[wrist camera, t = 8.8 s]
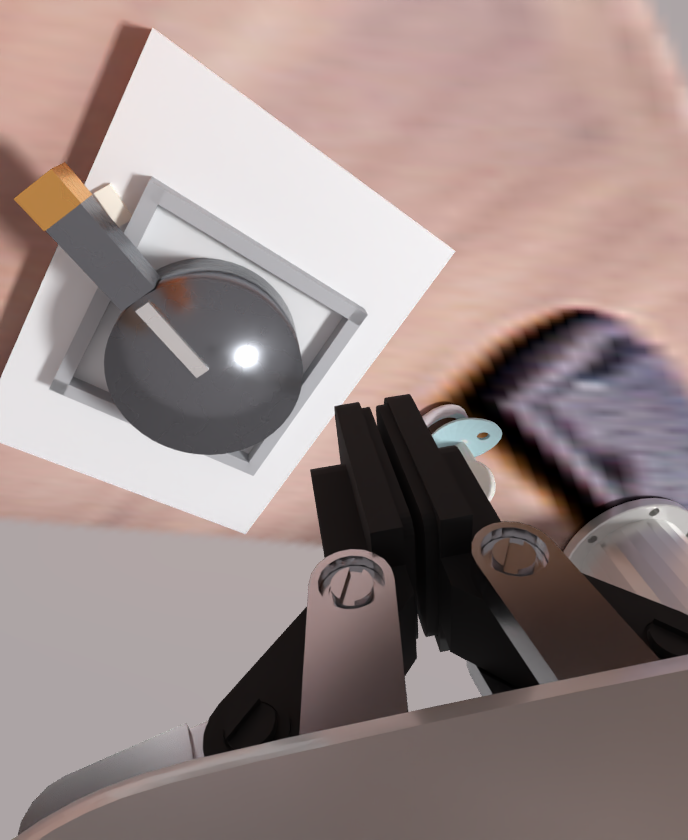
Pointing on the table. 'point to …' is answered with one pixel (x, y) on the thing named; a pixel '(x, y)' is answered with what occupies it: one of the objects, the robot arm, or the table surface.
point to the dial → (179, 331)
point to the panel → (226, 240)
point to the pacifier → (466, 440)
